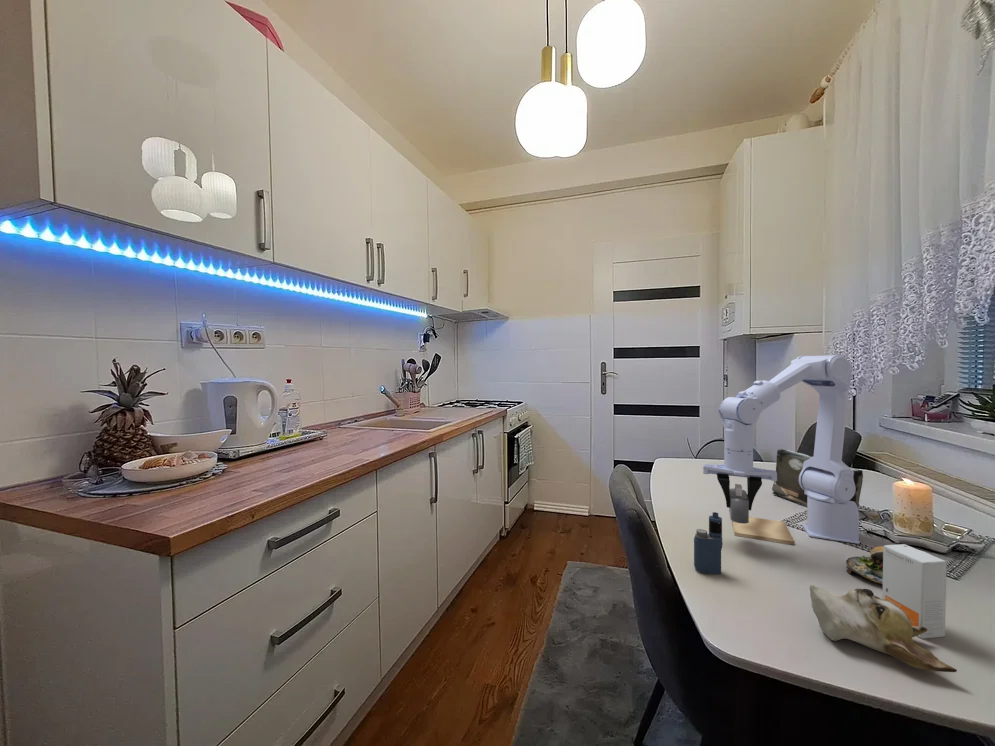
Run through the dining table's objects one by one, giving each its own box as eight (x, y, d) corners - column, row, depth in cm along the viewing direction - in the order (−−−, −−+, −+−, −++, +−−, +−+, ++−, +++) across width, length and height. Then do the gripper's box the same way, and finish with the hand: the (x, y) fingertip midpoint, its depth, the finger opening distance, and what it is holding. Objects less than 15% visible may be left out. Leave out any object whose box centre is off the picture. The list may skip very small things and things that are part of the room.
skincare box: (880, 615, 67) (881, 544, 67) (903, 613, 68) (904, 543, 67) (922, 640, 61) (923, 562, 61) (947, 638, 61) (948, 560, 61)
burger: (838, 576, 80) (838, 539, 80) (853, 558, 87) (853, 524, 87) (926, 605, 70) (926, 562, 70) (934, 582, 77) (935, 544, 77)
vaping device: (724, 575, 80) (724, 515, 80) (696, 572, 81) (696, 514, 81) (719, 568, 83) (720, 511, 82) (692, 566, 84) (692, 509, 83)
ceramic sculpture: (805, 560, 68) (928, 590, 61) (801, 609, 69) (923, 644, 61) (816, 592, 59) (964, 631, 51) (812, 648, 59) (957, 695, 52)
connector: (745, 510, 96) (745, 481, 96) (749, 524, 88) (749, 492, 88) (728, 507, 98) (728, 479, 98) (731, 521, 90) (731, 490, 89)
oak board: (784, 524, 104) (784, 521, 104) (794, 545, 93) (794, 541, 93) (731, 517, 110) (731, 514, 110) (734, 535, 98) (734, 532, 98)
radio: (870, 520, 107) (870, 465, 107) (842, 522, 106) (842, 466, 105) (793, 492, 130) (793, 447, 130) (769, 494, 129) (770, 448, 128)
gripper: (703, 450, 92) (703, 508, 93) (779, 455, 86) (779, 518, 86) (703, 444, 99) (703, 499, 99) (774, 449, 92) (774, 507, 92)
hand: (738, 507), depth 93 cm, fingers closed on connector, 3 cm apart
